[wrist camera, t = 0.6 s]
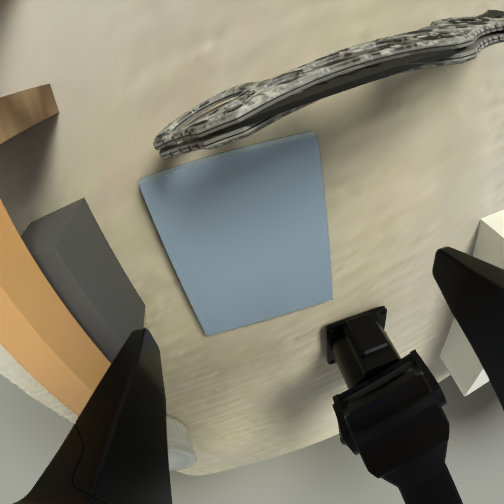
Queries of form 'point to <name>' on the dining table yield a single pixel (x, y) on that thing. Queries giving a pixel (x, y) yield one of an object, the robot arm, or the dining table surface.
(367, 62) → the grey curved piece
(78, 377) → the tan wooden bar
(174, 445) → the ramekin
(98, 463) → the robot arm
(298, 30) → the dining table surface
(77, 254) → the charcoal wedge block
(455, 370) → the tissue box
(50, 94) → the rail
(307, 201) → the pad
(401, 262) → the dining table surface
